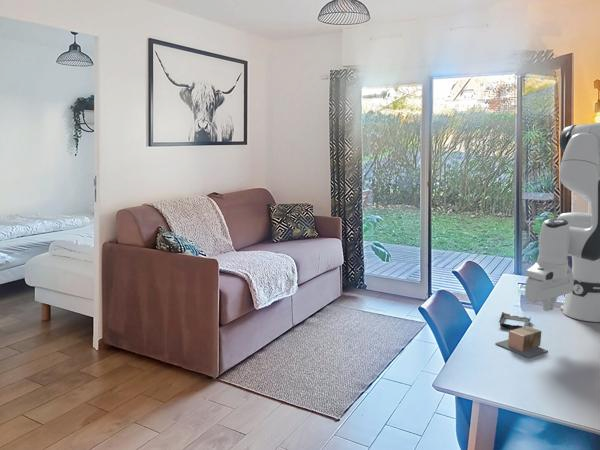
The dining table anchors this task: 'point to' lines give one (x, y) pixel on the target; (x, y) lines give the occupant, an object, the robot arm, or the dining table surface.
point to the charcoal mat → (525, 353)
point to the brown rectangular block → (524, 338)
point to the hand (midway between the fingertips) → (548, 310)
